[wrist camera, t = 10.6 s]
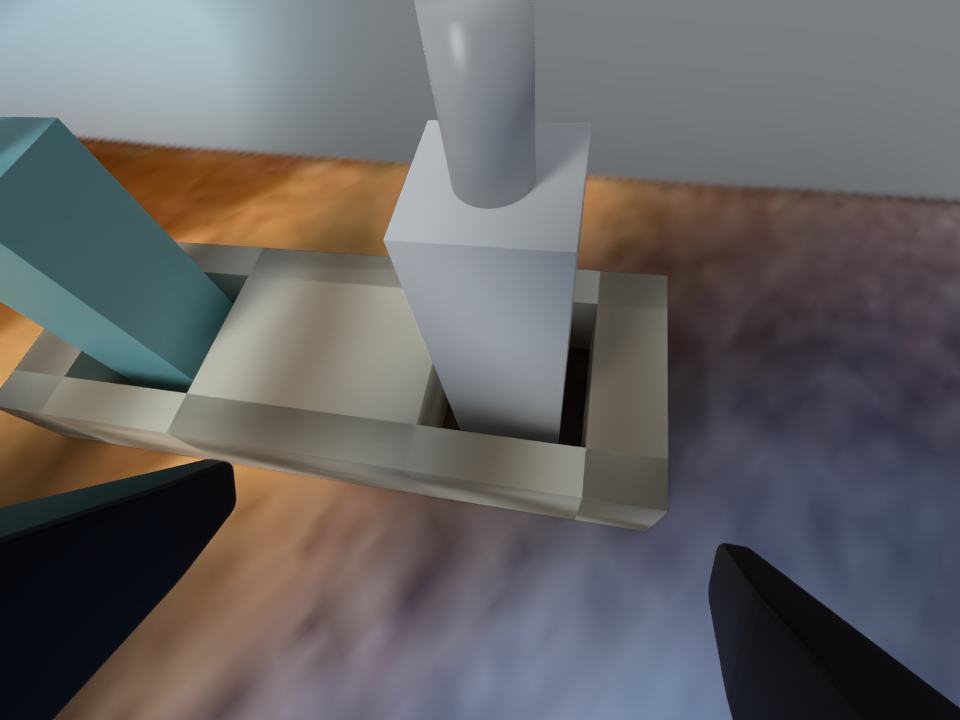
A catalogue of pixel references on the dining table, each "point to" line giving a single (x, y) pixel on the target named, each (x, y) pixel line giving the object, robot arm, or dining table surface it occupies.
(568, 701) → the dining table surface
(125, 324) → the teal plug
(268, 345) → the slot rack
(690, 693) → the dining table surface
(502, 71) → the grey plug
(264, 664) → the dining table surface
